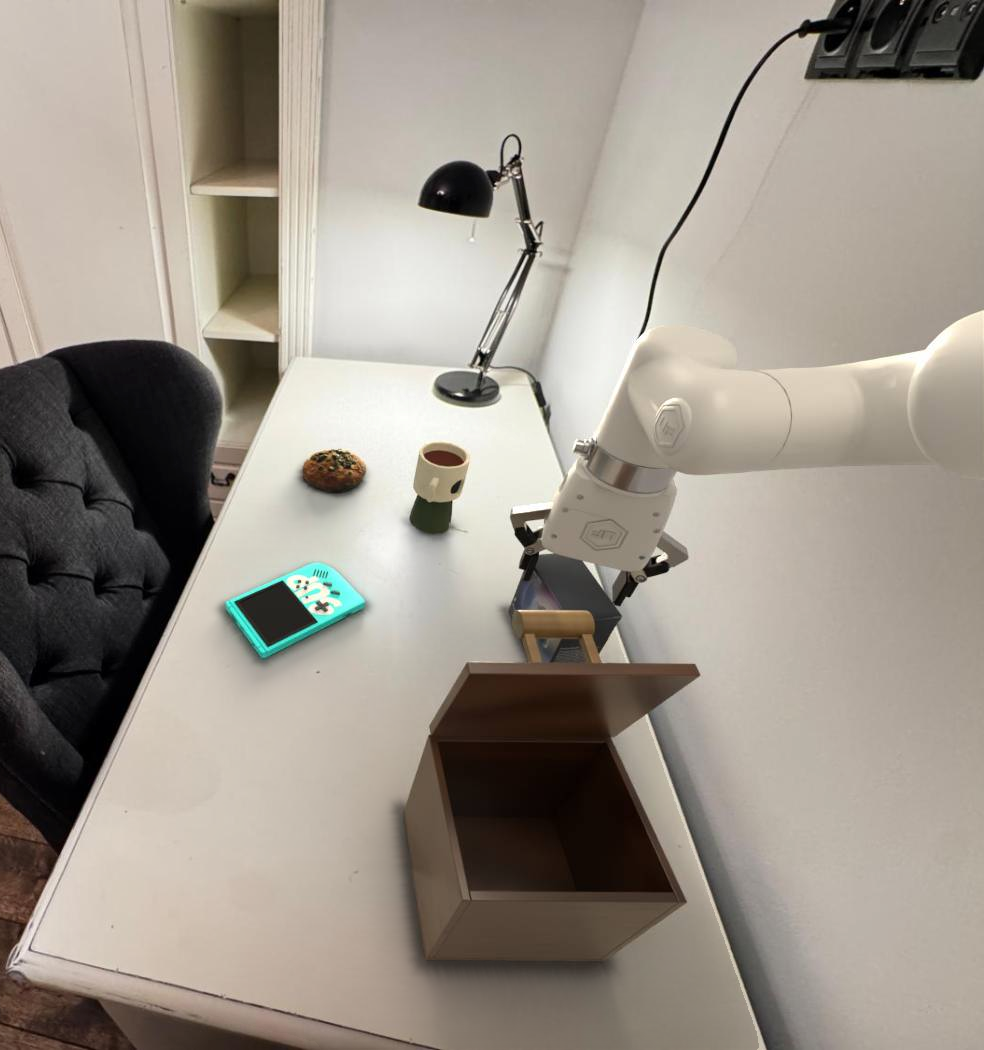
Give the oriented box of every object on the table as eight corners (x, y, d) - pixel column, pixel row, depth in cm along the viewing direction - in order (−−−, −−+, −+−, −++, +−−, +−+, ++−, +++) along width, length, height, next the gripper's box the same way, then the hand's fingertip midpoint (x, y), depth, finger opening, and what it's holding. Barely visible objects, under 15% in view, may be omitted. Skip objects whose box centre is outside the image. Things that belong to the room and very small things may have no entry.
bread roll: (323, 500, 92) (324, 473, 90) (290, 474, 101) (289, 448, 98) (378, 483, 97) (380, 456, 94) (342, 459, 105) (343, 434, 102)
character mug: (443, 552, 84) (461, 481, 75) (396, 538, 86) (409, 467, 77) (459, 510, 91) (477, 441, 83) (416, 498, 93) (429, 430, 85)
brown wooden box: (604, 961, 46) (688, 902, 37) (425, 959, 46) (462, 900, 37) (553, 813, 55) (610, 735, 46) (403, 812, 55) (428, 734, 46)
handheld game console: (366, 608, 75) (367, 601, 74) (262, 661, 69) (262, 654, 68) (323, 563, 82) (323, 556, 81) (224, 608, 75) (223, 601, 74)
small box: (503, 610, 75) (525, 552, 68) (550, 606, 76) (577, 548, 69) (539, 678, 67) (568, 620, 60) (591, 673, 68) (626, 615, 61)
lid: (701, 675, 36) (665, 598, 39) (469, 673, 36) (453, 596, 39) (614, 737, 45) (591, 670, 49) (430, 736, 45) (420, 669, 49)
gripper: (532, 462, 54) (488, 586, 65) (742, 507, 49) (656, 632, 60) (537, 424, 59) (496, 544, 70) (728, 461, 54) (650, 583, 65)
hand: (569, 584), depth 65 cm, fingers open, 9 cm apart
